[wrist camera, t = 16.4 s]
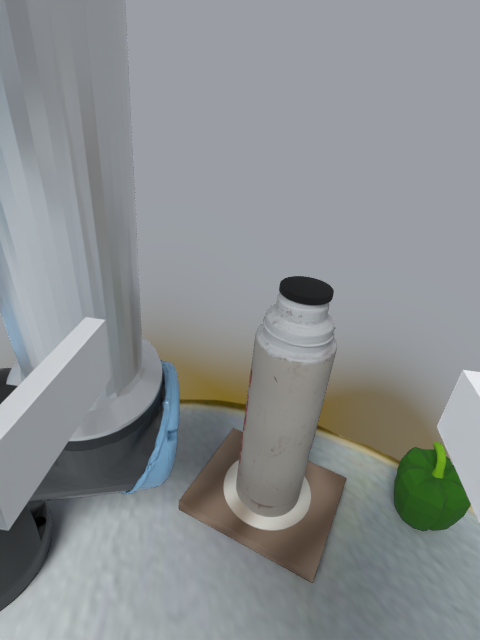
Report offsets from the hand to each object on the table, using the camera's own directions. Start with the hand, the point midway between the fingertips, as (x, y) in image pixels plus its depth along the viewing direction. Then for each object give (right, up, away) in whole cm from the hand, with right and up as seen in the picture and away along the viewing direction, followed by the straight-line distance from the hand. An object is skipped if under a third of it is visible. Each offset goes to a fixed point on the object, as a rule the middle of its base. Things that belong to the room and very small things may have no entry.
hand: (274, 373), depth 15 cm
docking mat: (+2, -21, +36) cm, 41 cm away
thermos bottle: (+2, -19, +35) cm, 40 cm away
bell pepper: (+22, -23, +36) cm, 47 cm away
